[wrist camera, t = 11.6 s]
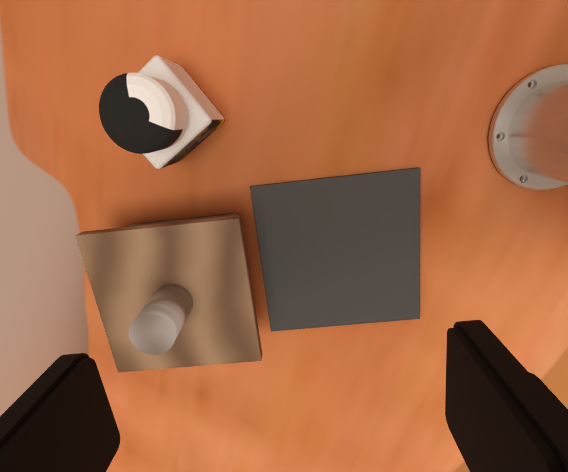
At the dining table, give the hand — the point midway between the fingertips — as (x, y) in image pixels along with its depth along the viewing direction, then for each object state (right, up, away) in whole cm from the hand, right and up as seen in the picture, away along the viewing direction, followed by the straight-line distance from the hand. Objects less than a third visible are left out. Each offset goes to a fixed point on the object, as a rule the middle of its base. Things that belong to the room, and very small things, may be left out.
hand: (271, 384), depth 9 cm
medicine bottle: (-11, +17, +30) cm, 36 cm away
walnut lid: (-11, -2, +28) cm, 31 cm away
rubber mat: (+7, +2, +34) cm, 35 cm away
